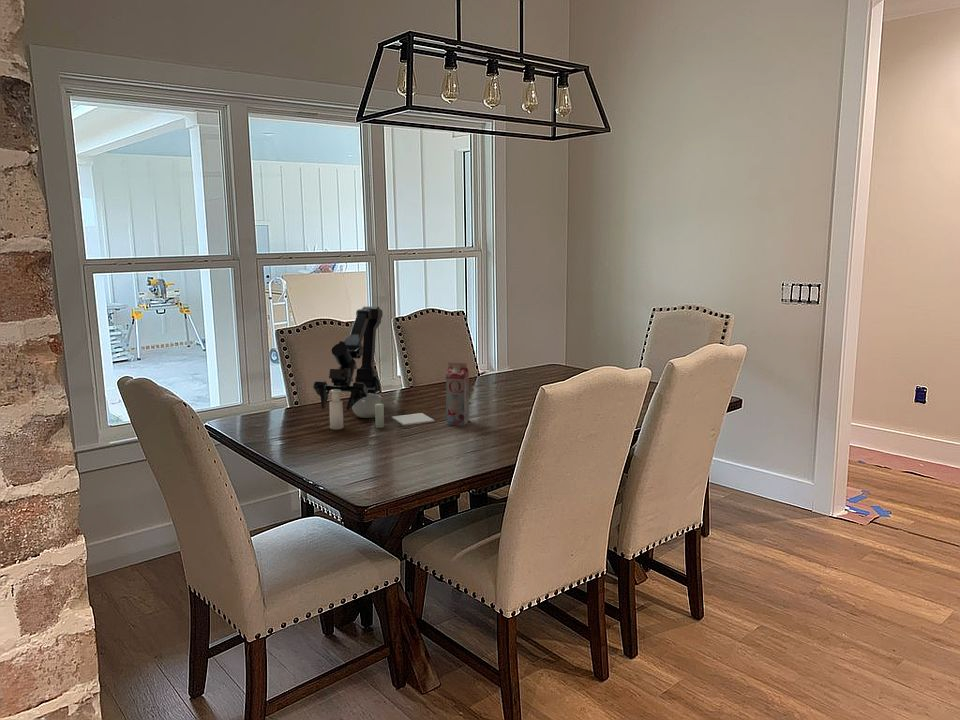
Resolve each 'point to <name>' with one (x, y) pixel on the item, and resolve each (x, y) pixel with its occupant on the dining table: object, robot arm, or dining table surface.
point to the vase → (336, 410)
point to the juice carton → (457, 394)
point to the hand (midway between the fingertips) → (334, 409)
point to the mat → (412, 419)
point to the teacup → (366, 406)
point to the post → (379, 415)
